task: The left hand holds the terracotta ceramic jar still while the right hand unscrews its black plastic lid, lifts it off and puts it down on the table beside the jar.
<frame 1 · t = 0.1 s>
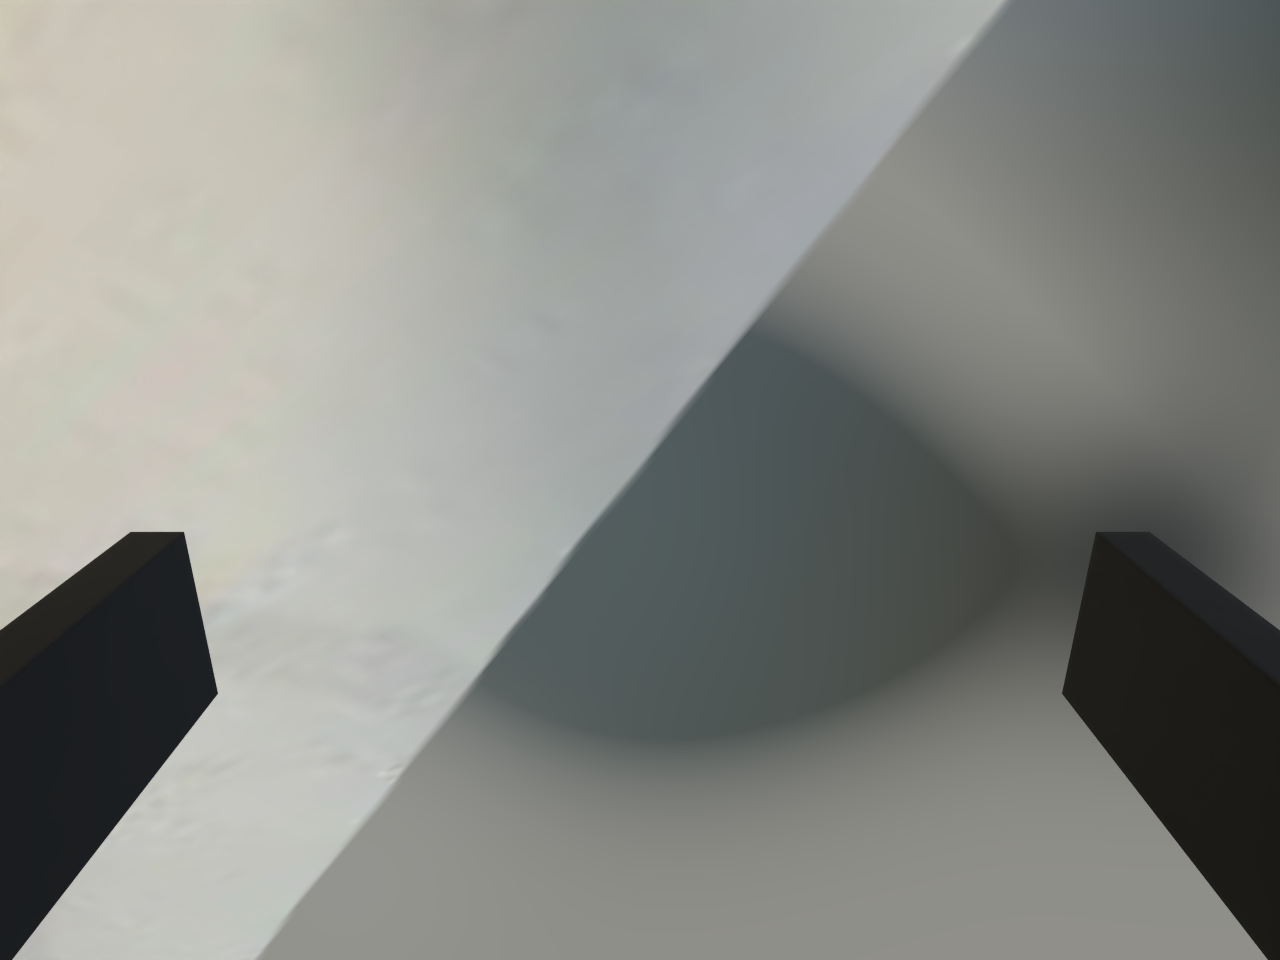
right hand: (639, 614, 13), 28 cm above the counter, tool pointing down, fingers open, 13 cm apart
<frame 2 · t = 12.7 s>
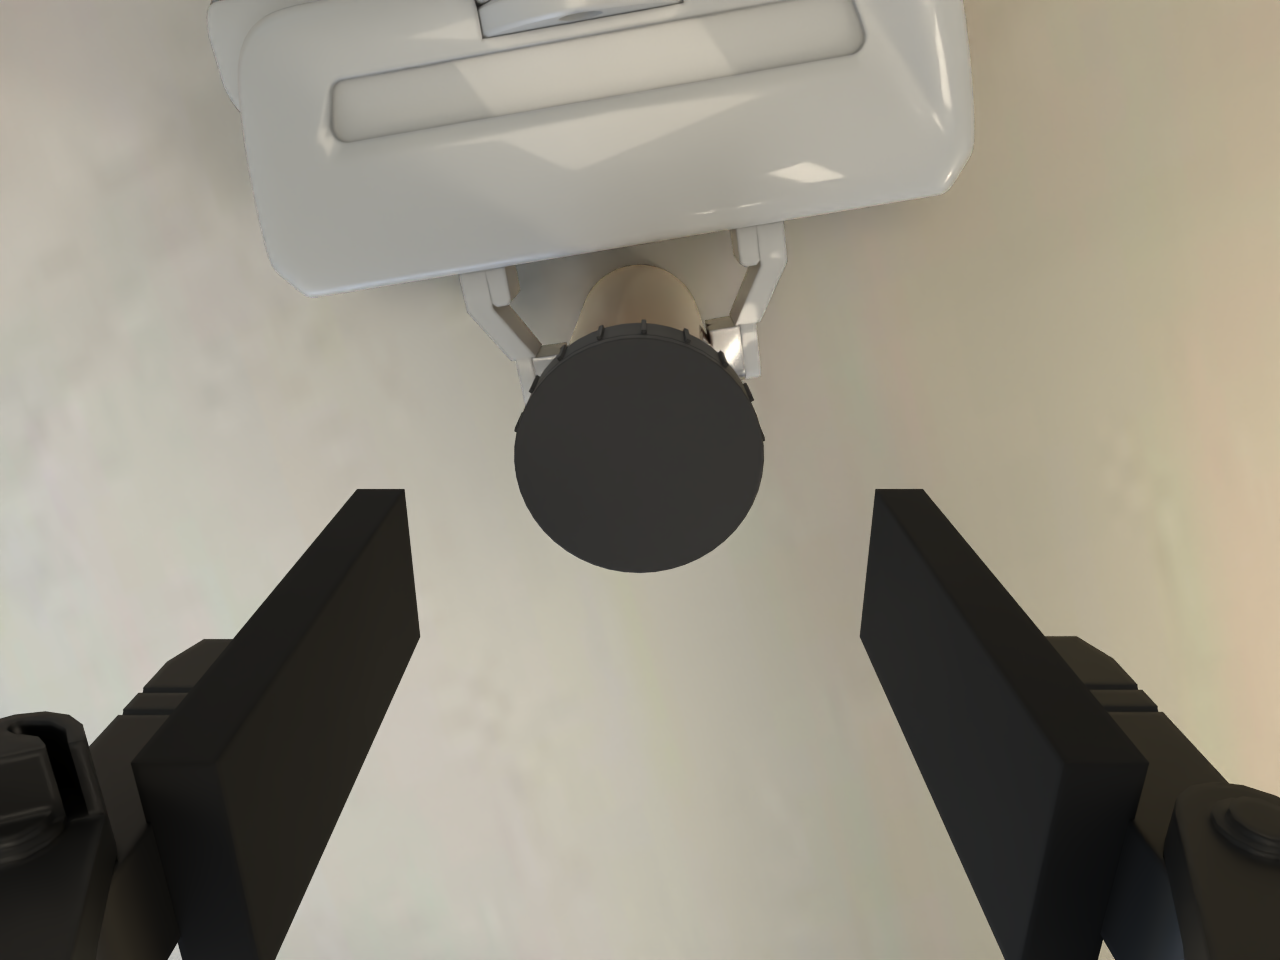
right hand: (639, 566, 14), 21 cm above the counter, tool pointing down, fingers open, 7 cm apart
left hand: (645, 390, 28), fingers closed on jar, 4 cm apart
jar: (639, 325, 33), on the counter, touching left hand
lid: (639, 456, 19), point 15 cm above the counter, screwed on, not yet turned
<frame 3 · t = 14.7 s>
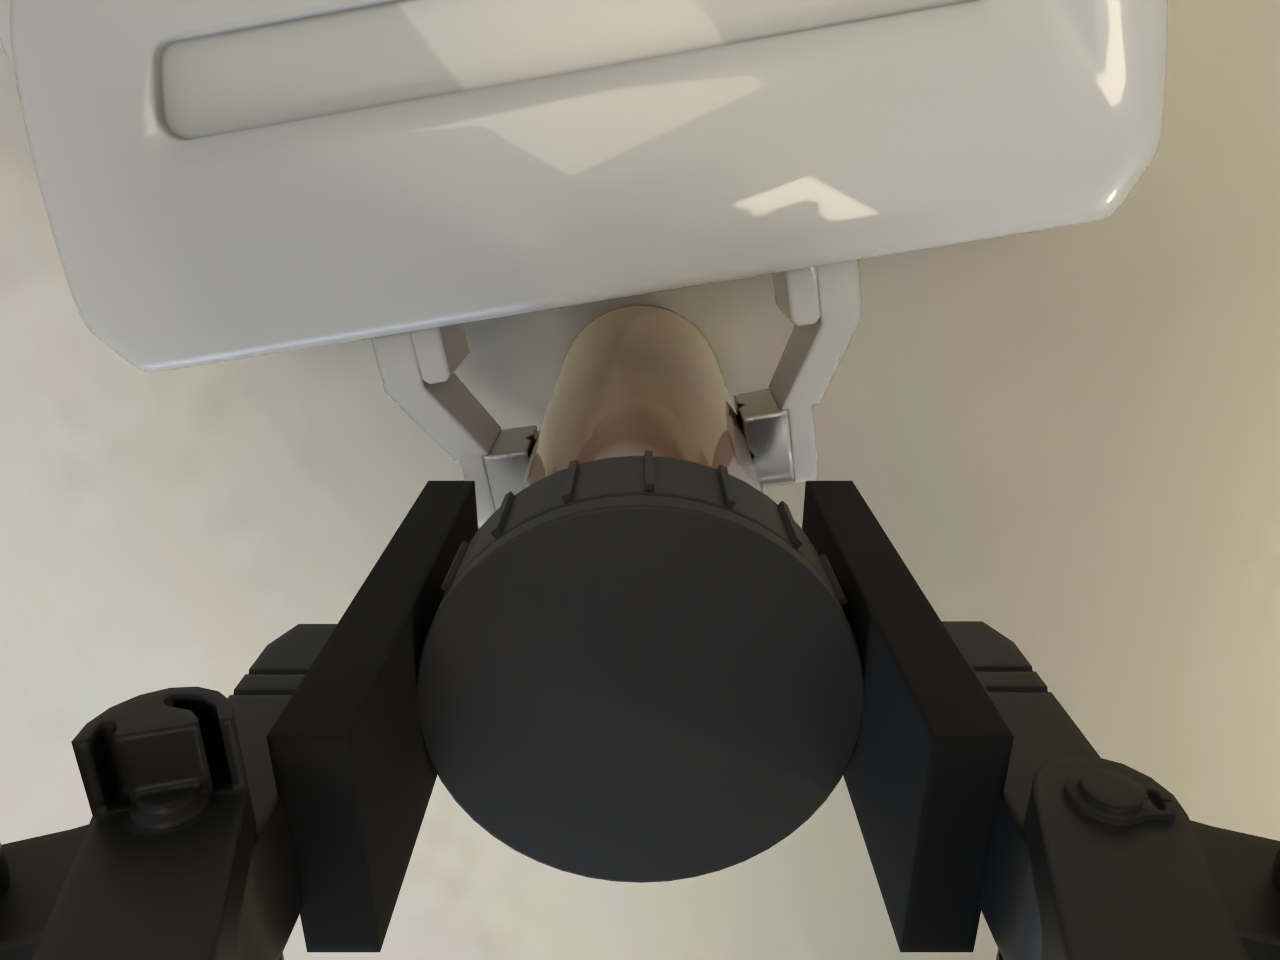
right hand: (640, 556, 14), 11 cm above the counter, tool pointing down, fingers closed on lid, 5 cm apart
left hand: (648, 496, 19), fingers closed on jar, 4 cm apart
jar: (640, 384, 25), on the counter, touching left hand
lid: (640, 695, 11), point 15 cm above the counter, screwed on, not yet turned, touching right hand
when the right hand's fingers open (0 cm above the counter, at t = 31.5 s): lid drops 3 cm, point 1 cm above the counter.
when the left hand's fingers open (6 cm above the counter, at t = 32.6 s): jar stays where it is, on the counter.
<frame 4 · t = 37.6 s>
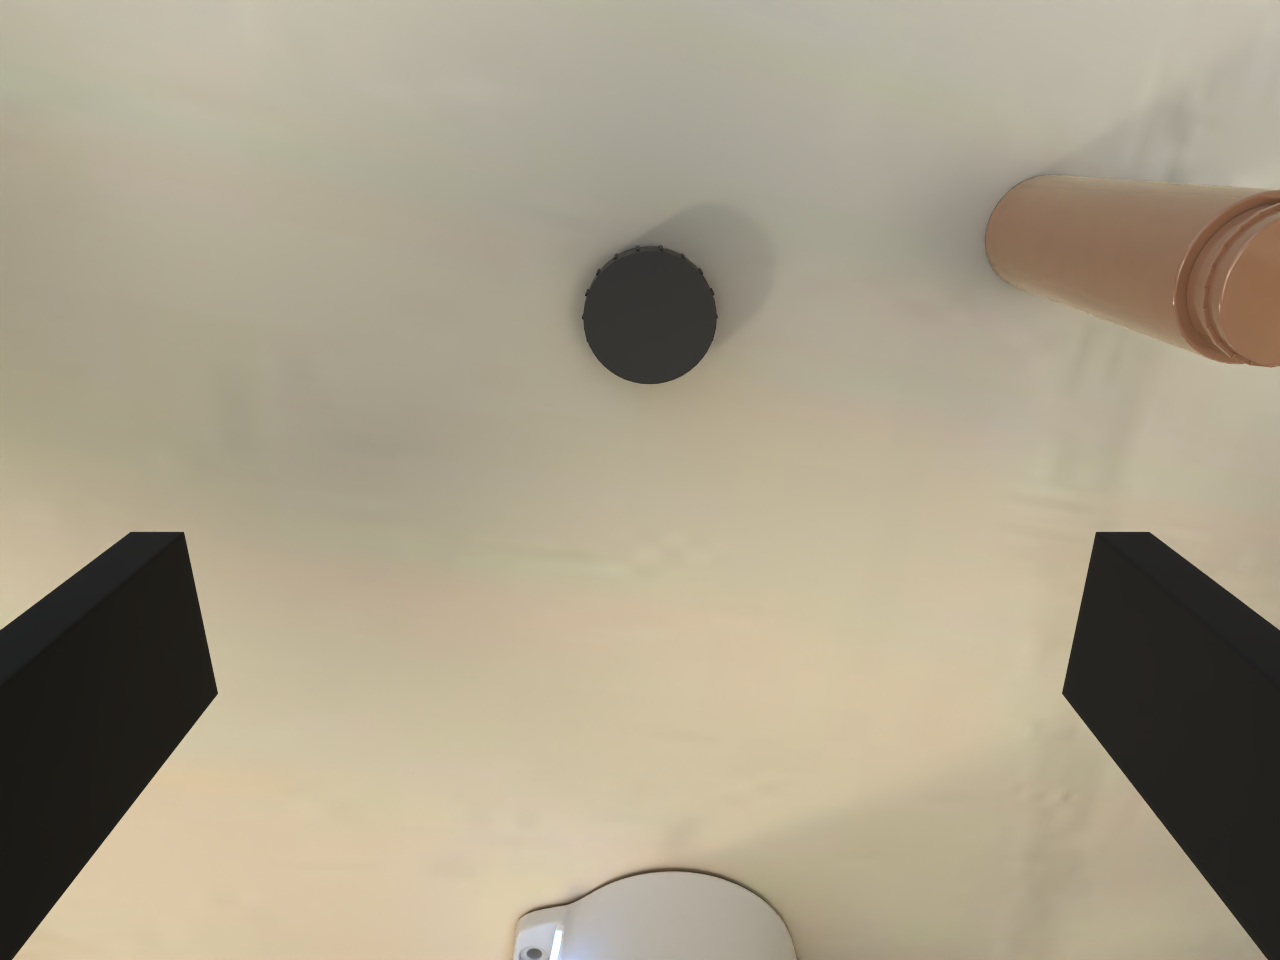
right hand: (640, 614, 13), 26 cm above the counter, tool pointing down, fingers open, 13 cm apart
jar: (1040, 233, 36), on the counter
lid: (649, 317, 36), point 1 cm above the counter, off its thread
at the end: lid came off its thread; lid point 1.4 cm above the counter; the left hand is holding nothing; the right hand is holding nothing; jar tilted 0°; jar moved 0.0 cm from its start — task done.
